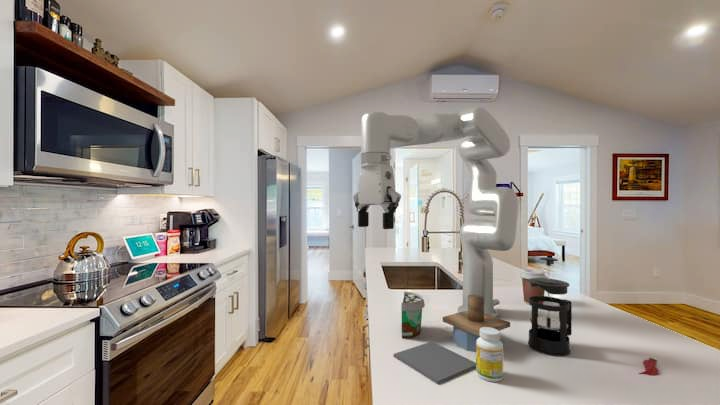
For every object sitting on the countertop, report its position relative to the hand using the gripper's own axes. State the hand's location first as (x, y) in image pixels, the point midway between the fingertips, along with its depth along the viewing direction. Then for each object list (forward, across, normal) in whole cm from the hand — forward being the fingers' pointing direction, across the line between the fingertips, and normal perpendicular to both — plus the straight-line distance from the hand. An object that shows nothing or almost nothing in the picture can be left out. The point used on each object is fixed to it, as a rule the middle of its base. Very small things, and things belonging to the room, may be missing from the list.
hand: (375, 227), depth 81 cm
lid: (+25, -15, -22) cm, 37 cm away
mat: (+30, -15, -6) cm, 34 cm away
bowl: (+30, -15, -22) cm, 41 cm away
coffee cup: (+31, -9, -71) cm, 78 cm away
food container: (+31, 0, -14) cm, 34 cm away
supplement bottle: (+31, -26, -10) cm, 41 cm away
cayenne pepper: (+31, -46, -42) cm, 70 cm away
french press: (+31, -28, -35) cm, 55 cm away
